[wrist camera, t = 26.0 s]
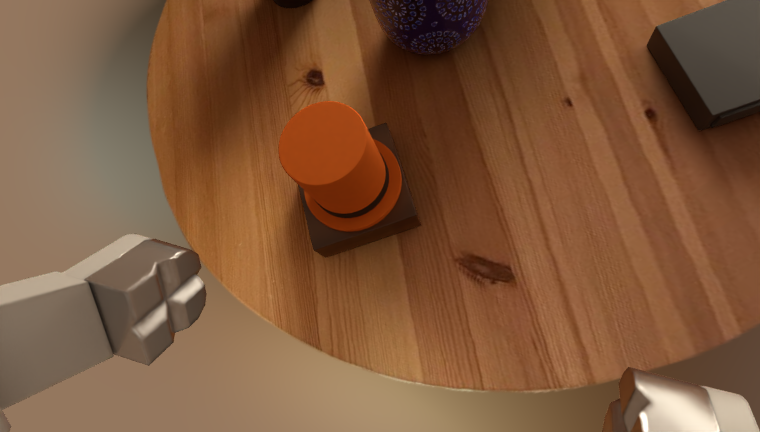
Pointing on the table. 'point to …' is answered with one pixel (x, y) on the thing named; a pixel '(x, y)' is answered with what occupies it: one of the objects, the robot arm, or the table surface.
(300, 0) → the coffee mug
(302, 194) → the plinth
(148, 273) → the robot arm
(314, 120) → the hat
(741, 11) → the grey square pedestal
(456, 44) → the planter
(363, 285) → the table surface
